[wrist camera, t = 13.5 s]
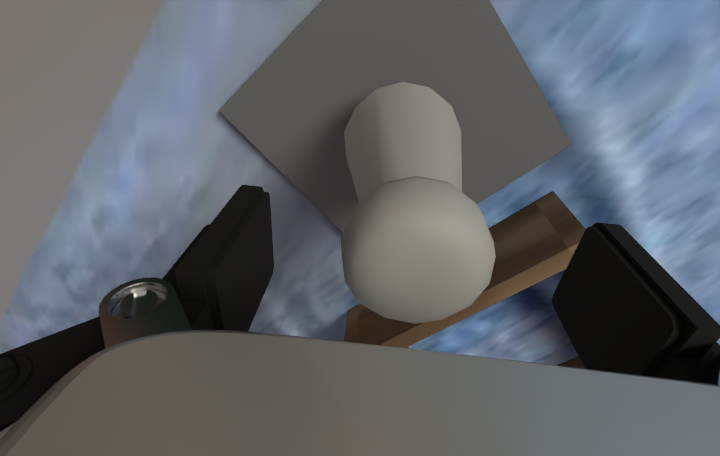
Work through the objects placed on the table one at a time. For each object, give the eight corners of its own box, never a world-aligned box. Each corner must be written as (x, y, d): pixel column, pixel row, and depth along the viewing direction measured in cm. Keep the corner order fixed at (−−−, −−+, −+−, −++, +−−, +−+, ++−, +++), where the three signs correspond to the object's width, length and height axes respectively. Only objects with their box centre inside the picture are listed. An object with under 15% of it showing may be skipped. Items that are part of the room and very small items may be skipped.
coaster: (567, 140, 21) (571, 144, 20) (376, 260, 26) (376, 266, 26) (425, -106, 16) (426, -110, 15) (222, 107, 21) (218, 110, 20)
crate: (648, 340, 29) (693, 399, 25) (463, 410, 36) (473, 466, 31) (553, 191, 23) (591, 236, 18) (347, 311, 29) (341, 364, 25)
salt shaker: (419, 190, 22) (453, 378, 12) (333, 153, 21) (280, 319, 11) (473, 101, 19) (587, 241, 9) (375, 52, 18) (363, 140, 8)
